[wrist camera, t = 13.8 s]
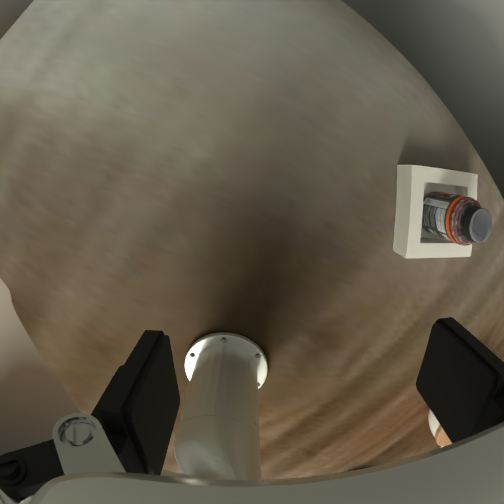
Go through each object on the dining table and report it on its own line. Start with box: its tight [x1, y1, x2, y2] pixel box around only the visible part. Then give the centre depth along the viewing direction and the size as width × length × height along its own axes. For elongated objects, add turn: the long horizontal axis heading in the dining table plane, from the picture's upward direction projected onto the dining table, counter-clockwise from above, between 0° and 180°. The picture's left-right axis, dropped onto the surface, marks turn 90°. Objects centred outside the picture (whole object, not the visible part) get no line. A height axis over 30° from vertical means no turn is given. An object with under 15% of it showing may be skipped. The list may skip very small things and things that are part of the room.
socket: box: [393, 165, 478, 258], centre depth 36 cm, size 12×12×4 cm
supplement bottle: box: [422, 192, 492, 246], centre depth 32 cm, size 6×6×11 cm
